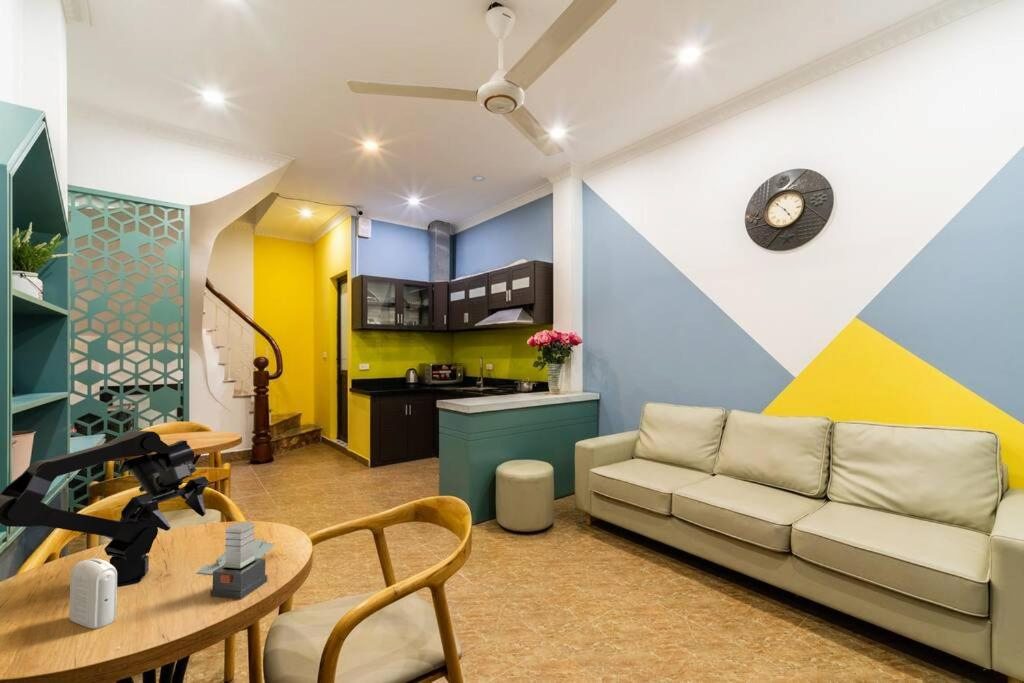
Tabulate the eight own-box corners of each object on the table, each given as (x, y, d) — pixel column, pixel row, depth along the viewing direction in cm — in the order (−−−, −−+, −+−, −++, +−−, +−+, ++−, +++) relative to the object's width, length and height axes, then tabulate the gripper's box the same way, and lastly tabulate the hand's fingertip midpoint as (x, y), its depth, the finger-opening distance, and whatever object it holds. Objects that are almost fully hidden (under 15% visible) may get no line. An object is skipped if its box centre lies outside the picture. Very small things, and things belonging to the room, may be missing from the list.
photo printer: (119, 620, 90) (121, 559, 91) (93, 632, 86) (95, 568, 87) (91, 610, 94) (92, 552, 95) (65, 621, 90) (66, 560, 91)
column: (224, 567, 100) (224, 528, 101) (239, 559, 105) (239, 521, 105) (240, 569, 100) (240, 529, 100) (254, 560, 104) (255, 522, 104)
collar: (209, 597, 99) (209, 572, 99) (238, 579, 107) (238, 556, 107) (240, 599, 97) (240, 574, 97) (267, 581, 105) (267, 558, 105)
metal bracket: (236, 532, 122) (282, 536, 119) (240, 550, 124) (286, 554, 120) (190, 570, 109) (241, 575, 105) (196, 590, 110) (246, 595, 107)
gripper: (130, 463, 101) (167, 514, 98) (203, 446, 119) (237, 488, 117) (104, 495, 103) (141, 546, 100) (181, 474, 121) (213, 516, 118)
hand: (187, 521), depth 109 cm, fingers open, 9 cm apart
